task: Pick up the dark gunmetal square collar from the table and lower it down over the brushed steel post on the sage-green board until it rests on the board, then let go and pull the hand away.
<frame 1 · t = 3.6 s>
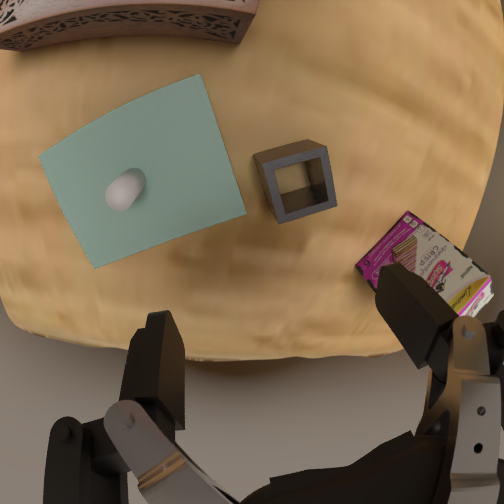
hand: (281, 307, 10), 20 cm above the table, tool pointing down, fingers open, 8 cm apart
candy bar box: (387, 245, 35), on the table
post board: (137, 176, 26), on the table
collar: (287, 172, 28), on the table
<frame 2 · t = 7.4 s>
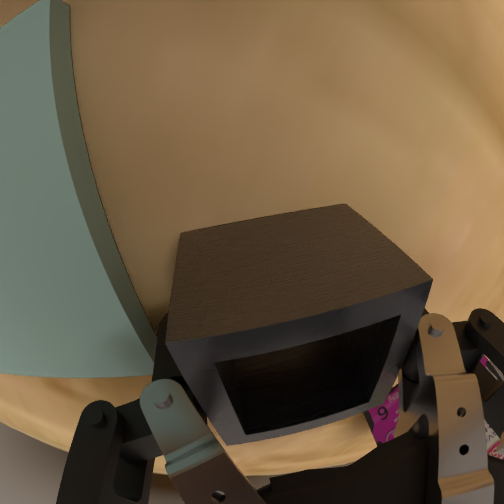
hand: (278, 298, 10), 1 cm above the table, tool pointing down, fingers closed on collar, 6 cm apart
candy bar box: (416, 377, 19), on the table
collar: (274, 286, 11), on the table, touching gripper
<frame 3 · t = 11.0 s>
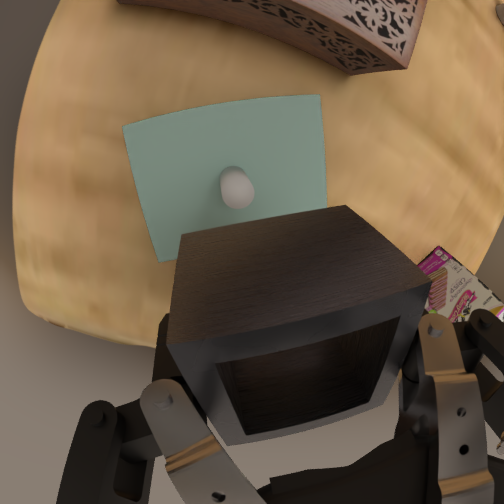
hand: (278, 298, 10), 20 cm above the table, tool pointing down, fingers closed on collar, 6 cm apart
candy bar box: (417, 273, 39), on the table
house plant: (500, 18, 16), on the table
post board: (231, 175, 27), on the table
collar: (274, 286, 11), point 19 cm above the table, touching gripper
when the fingers open (4 cm above the table, at t = 15.0 s): collar drops 1 cm, resting on post board.
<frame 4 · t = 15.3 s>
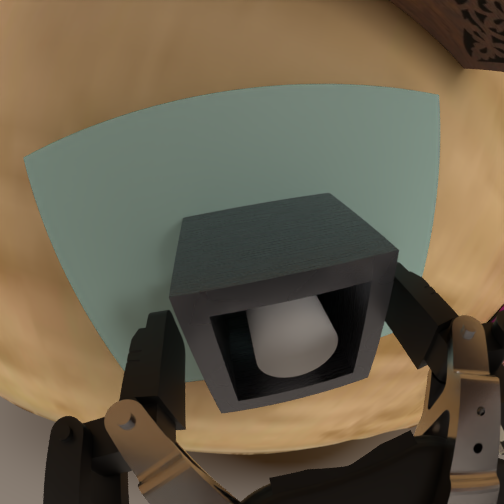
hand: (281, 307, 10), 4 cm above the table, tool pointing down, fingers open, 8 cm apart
post board: (260, 250, 14), on the table
collar: (266, 267, 12), point 1 cm above the table, touching post board
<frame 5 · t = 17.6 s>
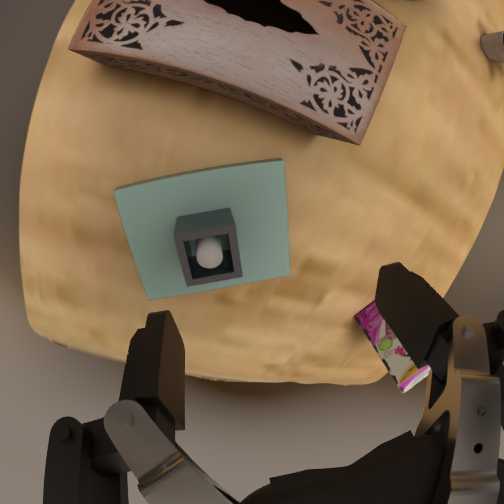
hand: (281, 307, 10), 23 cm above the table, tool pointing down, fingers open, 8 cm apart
tissue box cover: (237, 37, 23), on the table
candy bar box: (380, 302, 45), on the table
house plant: (484, 49, 24), on the table
post board: (207, 230, 33), on the table
collar: (207, 236, 31), point 1 cm above the table, touching post board
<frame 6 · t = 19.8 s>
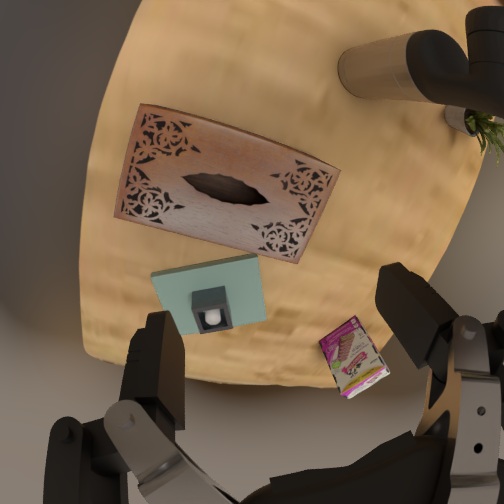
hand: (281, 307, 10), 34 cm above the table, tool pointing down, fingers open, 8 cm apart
tissue box cover: (222, 171, 41), on the table
candy bar box: (339, 331, 63), on the table
house plant: (448, 118, 40), on the table
post board: (211, 296, 51), on the table
collar: (211, 301, 50), point 1 cm above the table, touching post board
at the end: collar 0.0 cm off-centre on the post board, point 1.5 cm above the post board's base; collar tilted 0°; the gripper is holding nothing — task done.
